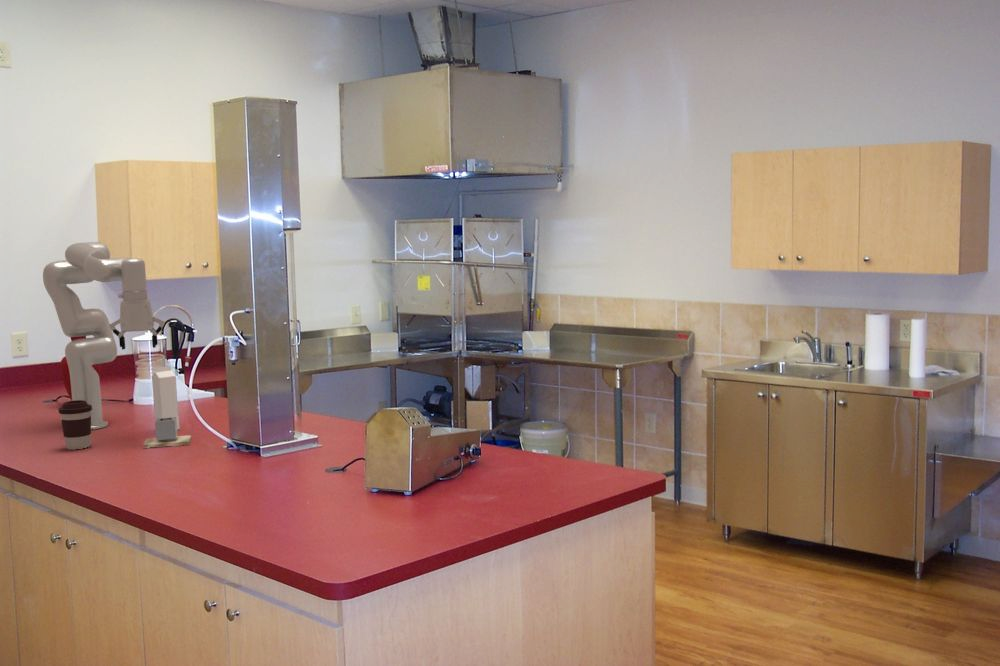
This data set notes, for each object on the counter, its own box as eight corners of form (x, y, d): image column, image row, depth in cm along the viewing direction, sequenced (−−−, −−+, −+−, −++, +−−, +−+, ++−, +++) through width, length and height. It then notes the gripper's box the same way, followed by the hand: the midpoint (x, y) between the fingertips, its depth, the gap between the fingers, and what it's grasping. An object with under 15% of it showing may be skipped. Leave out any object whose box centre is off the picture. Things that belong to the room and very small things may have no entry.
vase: (66, 411, 402) (60, 334, 398) (61, 405, 414) (55, 331, 411) (106, 406, 409) (100, 331, 406) (100, 401, 422) (94, 328, 418)
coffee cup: (83, 451, 328) (79, 404, 326) (55, 451, 330) (51, 404, 328) (101, 444, 338) (97, 399, 336) (73, 444, 340) (70, 399, 338)
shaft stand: (143, 448, 329) (141, 424, 328) (146, 442, 338) (144, 418, 338) (189, 445, 332) (187, 420, 331) (191, 438, 342) (189, 414, 341)
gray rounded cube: (156, 440, 331) (155, 421, 331) (158, 436, 337) (156, 418, 337) (176, 438, 333) (174, 420, 332) (177, 435, 339) (176, 416, 338)
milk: (179, 429, 358) (175, 366, 355) (162, 432, 354) (158, 368, 351) (171, 427, 362) (167, 365, 360) (155, 430, 358) (151, 367, 356)
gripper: (105, 298, 334) (109, 351, 336) (161, 295, 338) (165, 347, 340) (108, 297, 341) (112, 348, 343) (163, 294, 345) (167, 345, 347)
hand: (139, 348), depth 342 cm, fingers open, 9 cm apart
